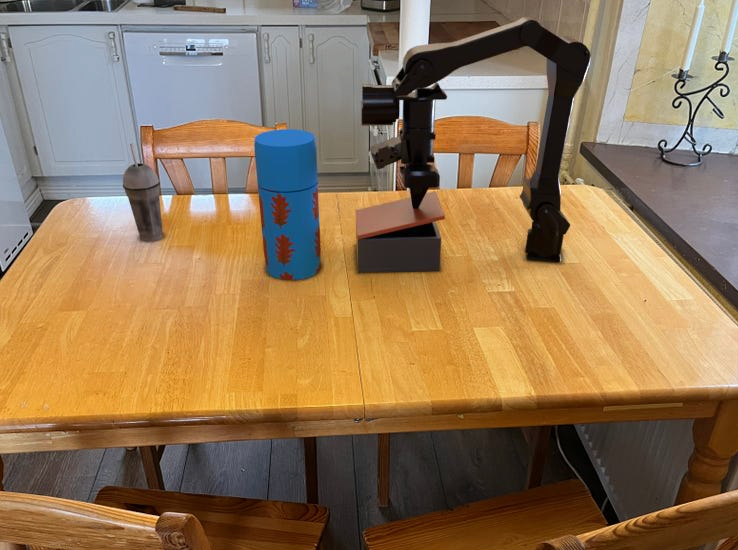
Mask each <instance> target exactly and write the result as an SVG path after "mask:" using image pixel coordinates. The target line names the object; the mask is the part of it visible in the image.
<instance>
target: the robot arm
mask: <svg viewBox="0 0 738 550" xmlns="http://www.w3.org/2000/svg"><path fill="white" fill-rule="evenodd" d="M524 47H528V48H530V49H531V50H534V51H535V52H536V53H538V54H540V55H541V56H543V57H544V58H546V81H547V88H548V95H547V99H546V100H547V101H546V107H545V113H544V117H543V123H542V130H541V135H540V141H539V147H538V153H537V158H536V164H535V170H534V171H533V174H532V175H531V177H530V178H528V177H523V178H522V189H521V193H520V194H519V198H520V200H521V202H522V205H523V208H524V209H525V211H526V212H527V214H528V216H529V217H530V219H531V221H532V222H531V227H530V228H529V229H528V228H527V234H526V242H525V249H524V252H525V254H526V260H529V261H538V262H548V263H556V264H557V263H561V261H562V249H563V248H562V247H563V242H564V236H565V235H567V232H568V231H569V229H570V227H571V223H570V222H569V221H568V219H567V218H566V217H565V214H563V212H562V211H561V210H562V209H561V208H562V207H561V204H562V203H561V202H562V201H561V200H562V193H561V185H560V170H561V166H562V161H563V156H564V152H565V151H564V150H565V146H566V140H567V135H568V129H569V125H570V119H571V114H572V110H573V104H574V99H575V96H576V95H577V93H578V91H579V89H580V88H581V86H582V85H583V83H584V81H585V78H586V75H587V72H588V69H589V67H590V64H591V55H592V54H591V50H589V48H588V47H587V45H586V44H584V43H583V42H581V41H580V40H578V39H576V38H575V37H573V36H569V35H563V36H558V35H556V34H555V33H553V32H551V31H550V30H549V29H547V28H545V27H543V26H542V25H541V24H540V22H539V21H537V20H536V19H534V18H533V17H530V16H523V17H521V18H519V19H518V20H515V21H513V22H510V23H507V24H503V25H500V26H498V27H495V28H493V29H492V28H491V29H488V30H486V31H483V32H480V33H477V34H474V35H471V36H467V37H464V38H461V39H458V40H455V41H452V42H437V43H428V44H427V43H426V44H421V45H415V46H413V47H411V48H409V49H408V50H407V51H406V53H405V54H404V56H403V59H402V67H401V68H400V70H399V72H398V73H397V74H396V75H395V77H393V79H392V81H391V84H374V85H373V84H370V83H363V84H362V85H361V100H360V124H361V125H360V126H361V127H365V126H366V127H371V126H372V127H377V126H382V127H383V126H384V127H385V126H393V125H394V123H397V120H400V112H401V111H400V110H401V109H400V108H401V107H400V106H401V103H400V102H401V101H402V119H401V120H402V124H401V127H400V129H399V131H398V134H399V135H398V136H395V137H391V138H389V139H386V140H382V141H380V142H378V143H375V144H373V145H371V146H370V154H371V157H372V160H373V162H374V165H375V167H376V169H377V170H381V169H385V168H386V167H387V166H390V165H392V164H395V163H397V162H400V164H401V165H403V166H399V167H398V169H399V172H400V176H401V180H402V184H403V188H406V189H409V196H410V197H411V202H412V207H413V209H418V208H419V206H420V204H421V202H422V200H423V198H424V196H425V194H426V193H428V191H429V189H433V188H434V189H437V188H440V183H441V175H440V173H439V170H438V169H437V167H435V165H434V163H435V155H434V143H435V142H434V141H436V137H437V136H436V135H437V134H436V131H435V120H436V119H435V118H436V101H445V100H447V99H448V95H447V93H446V92H445V90H443V89H442V88H441V86H440V84H439V82H440V81H442V80H443V79H445V78H447V77H448V76H450V75H451V74H452V73H454V72H455V71H458V70H459V69H461V68H463V67H466V66H469V65H472V64H476V63H479V62H482V61H484V60H488V59H492V58H494V57H497V56H501V55H503V54H507V53H510V52H513V51H515V50H519V49H521V48H522V49H523V48H524ZM430 86H431V87H430ZM432 163H433V164H432Z"/></svg>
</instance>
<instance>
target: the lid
mask: <svg viewBox="0 0 738 550" xmlns="http://www.w3.org/2000/svg"><path fill="white" fill-rule="evenodd" d="M444 213H445V212H444V210H443V207H442V205H441V202H440V199H439V196H438V193H437V191H431V192H427V193H426V194H425V196H424V198H423V200H422V202H421V204H420V206H419V208H418V209H413V207H412V202H411V196H410V197H405V198H402V199H397V200H393V201H389V202H384V203H379V204H375V205H372V206H368V207H363V208H359V209H356V210H355V225H356V224H357V237H358V239H363V238H367V237H371V236H376V235H380V234H384V233H388V232H393V231H397V230H401V229H405V228H410V227H414V226H418V225H423V224H427V223H431V222H435V221H436V222H439V221H443V220H446V217H445V214H444Z"/></svg>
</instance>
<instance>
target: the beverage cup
mask: <svg viewBox="0 0 738 550" xmlns="http://www.w3.org/2000/svg"><path fill="white" fill-rule="evenodd" d="M129 146H130V149H131V150H130V151H131V155H132V160H133V163H134V164H131V165H130V166H128V167H127V168H126V169H125V171H124V173H123V176H122V188H123V190H124V192H125V195H126V197H127V199H128V203H129V205H130V208H131V212H132V215H133V218H134V222H135V226H136V229H137V232H138V234H139V238H140V241H143V242H155V241H158V240H160V239H162V238H163V222H162V211H161V210H162V209H161V200H160V190H161V189H160V187H161V185H160V184H161V182H160V180H159V177H158V174H157V173H156V171H155V170H154V169H153V168H152V167H150V166H149V165H147V164H145V163H141V162H140V163H138V161H137V157H136V153H135V149H134V144H133V143H131V142H130V143H129Z"/></svg>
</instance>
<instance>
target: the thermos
mask: <svg viewBox="0 0 738 550" xmlns="http://www.w3.org/2000/svg"><path fill="white" fill-rule="evenodd" d="M253 149H254V150H253V152H254V160H255V162H254V163H255V171H256V182H257V192H258V193H257V194H258V204H259V211H260V212H259V213H260V214H259V215H260V225H261V234H262V245H263V247H262V248H263V257H264V262H265V269H266V273H267V274H268V275H269V276H270V277H273V278H275V279H278V280H283V281H299V280H305V279H307V278H312V277H313V276H315V275H316V274H318V273H319V272H320V269H321V260H322V258H321V256H322V254H321V253H322V249H321V248H322V246H321V245H322V244H321V226H320V203H319V202H320V201H319V182H318V181H319V180H318V179H319V178H318V156H317V155H318V154H317V144H316V138H315V135H314V134H313V133H311V132H310V131H307V130H302V129H293V128H291V129H289V128H287V129H286V128H282V129H272V130H268V131H263V132H261V133H259V134H257V135H255V137H254V147H253Z"/></svg>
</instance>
